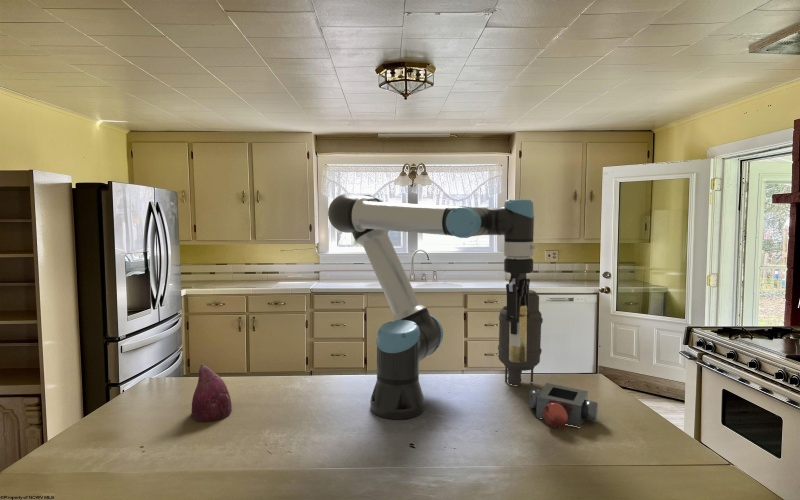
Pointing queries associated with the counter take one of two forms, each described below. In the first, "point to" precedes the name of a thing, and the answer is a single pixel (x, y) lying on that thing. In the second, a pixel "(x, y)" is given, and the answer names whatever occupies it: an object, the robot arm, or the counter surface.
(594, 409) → the valve body
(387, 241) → the robot arm
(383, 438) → the counter surface
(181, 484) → the counter surface
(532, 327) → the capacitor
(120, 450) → the counter surface
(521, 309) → the fitting
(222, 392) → the vegetable
